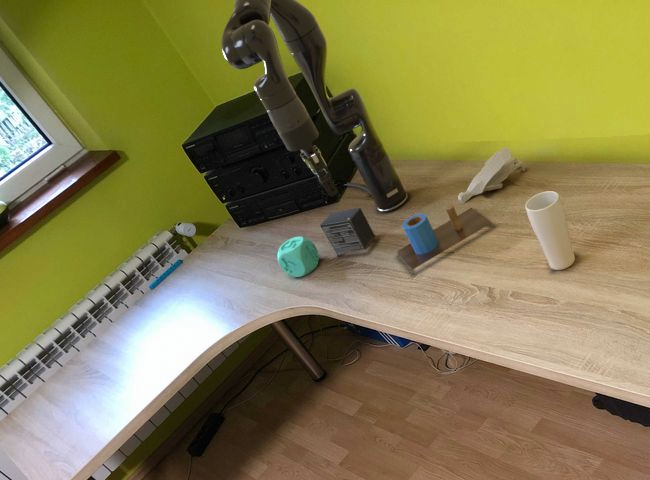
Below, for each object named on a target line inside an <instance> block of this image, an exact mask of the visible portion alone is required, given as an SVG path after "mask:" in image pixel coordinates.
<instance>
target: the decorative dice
mask: <svg viewBox="0 0 650 480" xmlns="http://www.w3.org/2000/svg"><path fill="white" fill-rule="evenodd" d="M317 248H318V247H317V246H316V244H315V243H314V242H313V241H311V239H309V238H307V237H305V236H294V237H292V238H289V239H288V240H286V241H284V242H283V243H282V244H281V245H280V246H279V248H278V251H277V255H276V256H277V262H278V265H279V267H280V268H281V270H282V271H283V272H284V273H285V274H287V275H289V276H291V277H295V278H301V277H305V276H307V275H308V274H310V273H311V272H313V271H314V270H315V269H316V268H317V266H318V264H319V261H320V257H319V256H320V254H319V250H318V249H317Z"/></svg>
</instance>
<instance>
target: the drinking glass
mask: <svg viewBox="0 0 650 480" xmlns="http://www.w3.org/2000/svg"><path fill="white" fill-rule="evenodd" d="M524 208H525V211H526V214H527V218H528V220H529V224H530V225H531V228H532V230H533V232H534V234H535V237H536V239H537V241H538V243H539V245H540V247H541V250H542V251H543V253H544V254H543V255H545V258H546V261H547V263H548V265H549V267H550V268H551V269H552V270H555V271H561V270H566V269H568V268H569V267H571V266H572V265H573V264H574V263H575V260H576V256H575V253H574V249H573V244H572V241H571V237H570V232H569V226H568V222H567V215H566V213H565V208H564V206H563V203H562V200H561V197H560V195H559V193H558V192H556V191H553V190H548V191H542V192H539V193H537V194H534V195H533V196H531V197H530V198H529V199H528V200H527V201H526V203H525V205H524Z"/></svg>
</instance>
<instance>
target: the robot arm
mask: <svg viewBox="0 0 650 480" xmlns="http://www.w3.org/2000/svg"><path fill="white" fill-rule="evenodd" d="M271 20H272V23H274V26H275V27H276V29H277V31H278V33H279V35H280V37H281V39H282V42H283V43H284V45H285V46H286V49H287V50H288V52H289V53H290V55H291V57H292V59H293V60H294V62H295V64H296V65H297V68H298V69H299V70H300V72H301V74H302V75H303V77H304V79H305V81H306V82H307V84H308V86H309V88H310V90H311V92H312V94H313V96H314V98H315V101H316V102H317V104H318V107H319V109H320V110H321V113H322V115H323V117H324V119H325V121H326V123H327V125H328V127H329V128H330V130H331V131H332V132H333V133H334V134H335V135H336V136H337V135H338V136H340V135H343V134H347V132H348V133H349V132H350V131H352V130H354V129H356V128H358V127H361V129H360V131H359V132H358V134H357V135H356V137H354V139H353V140H352V141H351V142H350V143H349V145H348V148H347V151H348V153H349V155H350V157H351V159H352V161H353V162H354V164H355V166H356V168H357V170H358V172H359V174H360V176H361V178H362V180H363V182H364V184H365V186H364V185H362V184H357V183H351V182H346V183H347V184H344V185H343V187H344V186H346V187H351V188H352V187H353V188H358V189H361V190H363V191H366V192H367V193H368V194H369V195H370V196H371V198H372V199H373V201H374V204H375V205H376V208H377V210H378V212H380V213H389V212H392V211H395V210H397V209H398V208H400V207H401V206H403V205H405V204H406V202H407V201H408V199H409V195H408V192H407V191H406V189H405V188H404V186H403V184H402V181H401V179H400V177H399V175H398V173H397V170H396V168H395V166H394V164H393V162H392V160H391V158H390V156H389V154H388V151H387V150H386V148H385V146H384V144H383V141H382V139H381V138H380V136H379V134H378V131H377V129H376V127H375V125H374V123H373V120H372V118H371V116H370V114H369V111H368V108H367V106H366V104H365V101H364V98H363V97H362V96H361V93H360V92H359V91H358V90H357V89H356V88H353V87H352V88H348V89H346V90H344V91H342V92H340V93H338V94H336V95H334V96H331V97H329V95H328V92H327V83H326V82H327V81H326V80H327V79H326V71H327V61H328V42H327V39H326V37H325V35H324V32H323V31H322V29H321V27H320V25H319V23H318V21H317V19H316V17H315V15H314V14H313V12H311V10H310V9H308V8H307V7H306V6H305V5H304V4H302V3H300V2H299V1H298V0H234V5H233V12H232V13H231V15H230V16H229V18H228V21H227V23H226V25H225V26H224V29H223V32H222V34H221V40H220V45H221V51H222V55H223V57H224V59H225V60H226V62H227V63H228V64H229V65H230V67H233V68H234V69H237V70H246V69H249V68H251V67H253V66H255V65H257V64H260V63H262V62H263V63H264V64H263V65H264V69H265V71H264V73H263V74H261V75H260V76H259V77H258V78H256V80H254V82H253V89H254V91H255V93H256V95H257V97H258V98H259V100H260V102H261V103H262V105H263V107H264V109H265V110H266V112H267V115H268V117H269V119H270V122H272V126H273V127H274V129H275V130H276V132H277V134H278V136H279V137H280V139H281V140H282V142H283V144H284V145H285V148H286V150H287V151H289V152H297V151H300V154H299V156H300V157H301V159H302V161H303V162H304V163H305V165H306V166H307V168H309V169H310V171H311V172H312V174H313V175H315V177H316V179H317V181H318V183H319V184H320V186H321V187H324V189H325V191H326V192H327V194H328V196H329V197H334V196H336V195H338V194H339V190H338V187H337V186H336V184H334V182H333V181H334V180H333V179H332V177H333V175H332V173H331V172H330V170H329V169H328V165H327V163H326V161H325V159H324V158H323V156H322V155H323V154H322V152H321V150H320V148H318V147H317V145H313V143H314V142H315V141H316V140H317V139H318V138H319V135H320V133H319V131H318V129H317V127H316V125H315V123H314V121H313V120H312V118H311V116H310V114H309V112H308V110H307V108H306V106H305V105H304V103H303V102H302V100H301V99H300V98H299V96H298V94H297V92H296V90H295V89H294V87H293V85H292V83H291V82H290V80H289V78H288V76H287V73H286V70H285V67H284V63H283V60H282V57H281V53H280V49H279V44H278V40H277V37H276V35H275V33H274V31H273V29H272V27H271V26H270V22H271Z"/></svg>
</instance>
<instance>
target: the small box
mask: <svg viewBox="0 0 650 480" xmlns="http://www.w3.org/2000/svg"><path fill="white" fill-rule="evenodd" d="M319 227H320V228H321V230H322V231H323V234H325V236H326V238H327V240H328V242H329V243H330V245H331V246H332V249H333V250H334V253H335V254H336V255H337V257H338V258H340V257H343V256H344V255H346V254H349V252H355V251H356V252H357V251H363V250H367V248H368V247H369V246H370V244H371V243H372V242H373V240H374V239H375V237H376V234H375V232H374V231H373V228H372V227H371V225H370V223H369V221H368V220H367V218H366V216H365V214H364V212H363V210H362V208H361V207H355V208H350V209H345V210H340V211H333V212H330V213H329V214H328V215H327V216H326V217H325V219H324V220H323V221H322V222H321V223H320V224H319Z"/></svg>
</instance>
